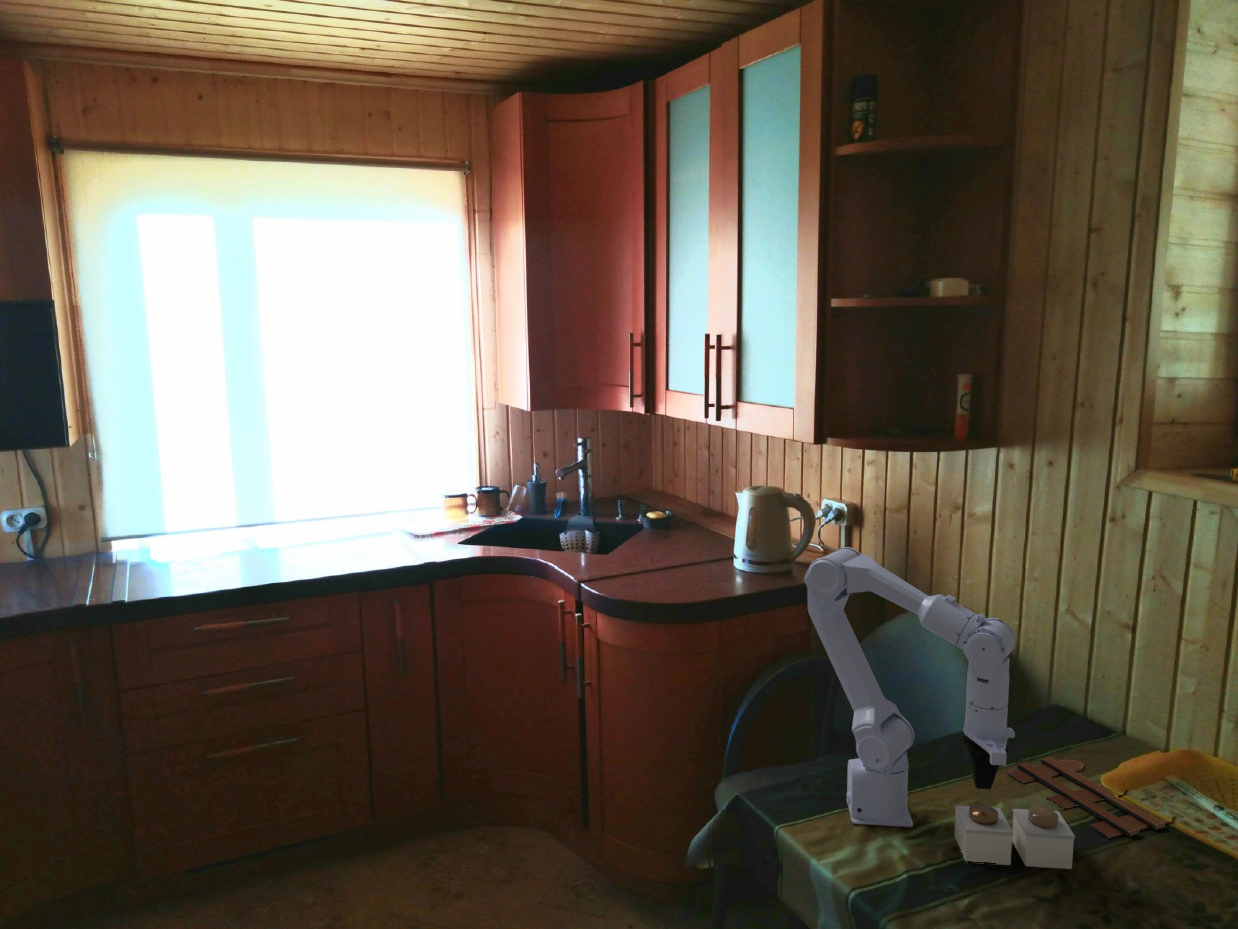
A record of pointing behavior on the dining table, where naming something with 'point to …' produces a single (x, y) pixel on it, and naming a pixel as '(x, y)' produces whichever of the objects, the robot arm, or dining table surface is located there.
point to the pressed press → (1042, 838)
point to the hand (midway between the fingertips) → (982, 786)
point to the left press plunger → (983, 814)
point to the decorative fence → (1087, 797)
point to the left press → (983, 838)
